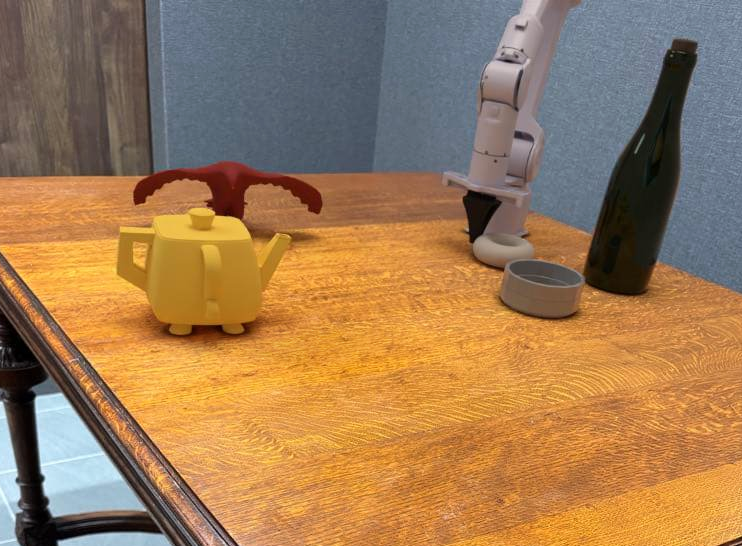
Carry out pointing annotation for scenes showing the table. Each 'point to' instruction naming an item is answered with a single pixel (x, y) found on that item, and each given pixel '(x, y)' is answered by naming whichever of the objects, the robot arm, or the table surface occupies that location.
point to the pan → (541, 288)
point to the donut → (502, 249)
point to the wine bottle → (643, 185)
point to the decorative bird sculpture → (229, 186)
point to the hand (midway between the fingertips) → (474, 242)
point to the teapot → (200, 269)
